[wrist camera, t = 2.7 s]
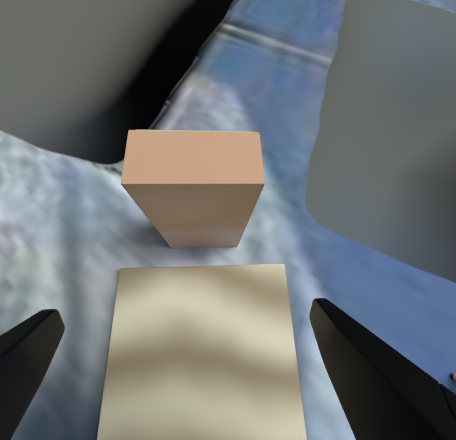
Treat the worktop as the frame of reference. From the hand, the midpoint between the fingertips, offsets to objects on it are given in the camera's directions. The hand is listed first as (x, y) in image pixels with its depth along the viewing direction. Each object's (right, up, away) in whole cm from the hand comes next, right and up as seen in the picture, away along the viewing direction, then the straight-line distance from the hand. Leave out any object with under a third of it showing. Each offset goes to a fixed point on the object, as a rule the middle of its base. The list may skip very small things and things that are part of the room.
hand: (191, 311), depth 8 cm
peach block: (-1, +2, +14) cm, 15 cm away
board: (-1, -9, +10) cm, 14 cm away
